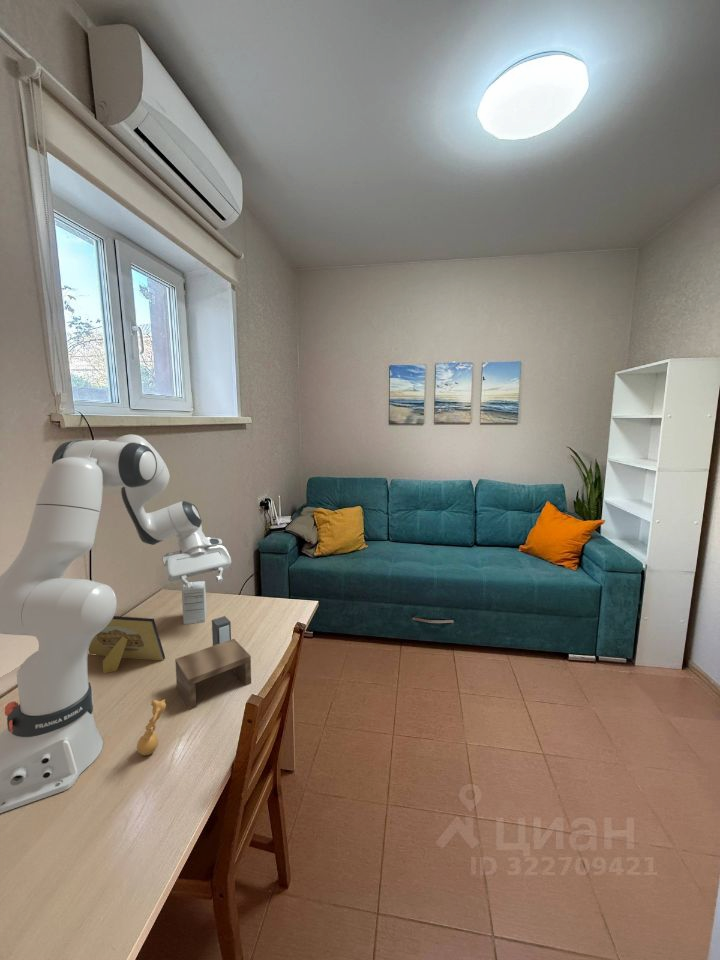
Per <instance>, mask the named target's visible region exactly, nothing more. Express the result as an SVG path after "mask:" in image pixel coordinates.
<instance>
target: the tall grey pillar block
mask: <svg viewBox="0 0 720 960" xmlns="http://www.w3.org/2000/svg"><path fill="white" fill-rule="evenodd" d="M231 624H232V623H231V621H230V620H229V618H227V616H225V615H224V616H221V617H217V618H214V619H211V634H212V635H211V636H212V646H214V645H217V644H220V643H223V642H226V641H229V640H232V630H231V628H232V625H231Z"/></svg>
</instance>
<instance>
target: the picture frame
mask: <svg viewBox="0 0 720 960" xmlns="http://www.w3.org/2000/svg"><path fill="white" fill-rule="evenodd" d="M88 653H90V654H89V655H91V654H96V655H95V656H98V655H105V656H104V657H105V658H104V659H103V660H102V672H103V673H102V674H107V673H111V672H115V671H118V669H119V666H120V663H121V661H122V658H127V659H136V660H137V659H140V660H150V661H164V660H165V659H166V655H165V652H164V648H163V646H162V642H161V639H160V635H159V632H158V628H157V625H156V622H155V618H148V617H147V618H146V617H134V616H133V617H131V616H121V615H120V616H118V615H116V616H115V615H114V617H113V619H112V620H111V622H110V623H109V624H108V626H107V627H106V628H105V629H104V630H102V631H101V632H100V633H98V634H97V635H96V636H95V637H94V638H93V640H92V642H91V644H90V646H89V650H88Z"/></svg>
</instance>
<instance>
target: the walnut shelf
mask: <svg viewBox="0 0 720 960" xmlns="http://www.w3.org/2000/svg"><path fill="white" fill-rule="evenodd" d="M251 658H252V657H251V655H250V654H249V652H248V651H247V650H246V649H245V648H244V647H243V646H242V645H241V644H240V643H239V642H238V641H237V640H236V639H235V638H231V640H229V641H226V642H223V643H220V644H217V645H214V646H213V645H211V646H209V647H205V648H203V649H201V650H198V651H195V652H191V653H189V654H186V655H184V656H181V657H177V658H175V677H176V678H175V679H176V688H177V691H178V692H179V694H180V696H181V697H182V699H183V700H184V702H185V703H186V705H187V708H188V710H193V709H195V708H197V696H196V695H197V693H196V692H197V691H196V683H198V682H199V683H200V682H201V681H203V680H204V681H205V680H206V679H208V678H211V677H214V676H217V675H219V674H221V673H224V672H227V671H229V670H231V669H232V671H233V672H234V673H235V674H236V675H237V677H238V678H239V679H240V680H241V681H242V682H243V684H244V686H249V685H250V684H252V665H251V664H252V662H251V661H252V659H251Z"/></svg>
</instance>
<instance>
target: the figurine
mask: <svg viewBox="0 0 720 960" xmlns="http://www.w3.org/2000/svg"><path fill="white" fill-rule="evenodd" d="M150 705H151V706H152V710H151V712H152V717H151V718H150V719H149V720H148V724H147V725H146V726H145V730H146V731H144V732H143V733H144V734H143V735H142V736H141V737H139V739H138V741H137V744H136V749H137V752H138V754H140V755H141V756H149V755H150V754H153V753H154V752H155V750H156V749H157V747H158V744H159V737H158V735H157V734H155V733H154V732H155V730H156V729H157V724H156V723H157V721H158V720H159V719H160V718H161V716H162V714H163V713H164V711H165V710H166V707H167V704H166V699H162V700H160V701H159V700H156V699H153V700H152V701H151V704H150Z"/></svg>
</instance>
